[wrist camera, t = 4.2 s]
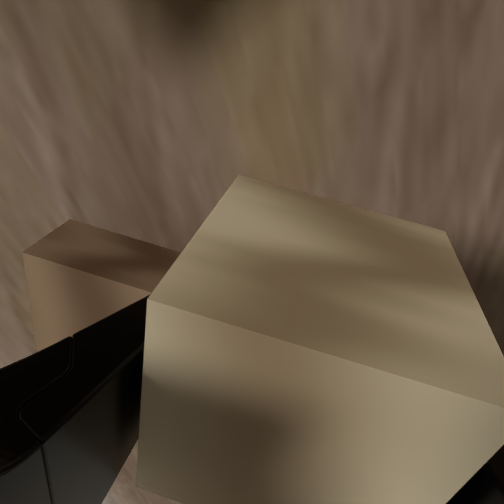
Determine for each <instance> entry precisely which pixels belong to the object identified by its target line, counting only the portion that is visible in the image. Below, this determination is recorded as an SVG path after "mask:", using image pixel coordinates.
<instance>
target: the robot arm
mask: <svg viewBox="0 0 504 504" xmlns="http://www.w3.org/2000/svg"><path fill="white" fill-rule="evenodd" d="M150 295H151V294H150ZM150 295H148V296H146V297H144V298H142V299H140V300H138V301H136V302H134V303H132V304H130V305H128V306H126V307H125V308H123V309H121V310H119V311H117V312H115V313H113V314H111V315H109V316H107V317H105V318H103V319H101V320H99V321H98V322H96V323H94V324H92V325H90V326H88V327H86V328H84V329H82V330H80V331H78V332H76V333H74V334H73V335H72V337H71V336H68V337H66V338H64V339H62V340H61V341H59V342H57V343H55V344H53V345H51V346H49V347H47V348H45V349H43V350H40V351H38V352H36V353H34V354H32V355H30V356H28V357H26V358H24V359H21V360H19V361H17V362H15V363H12V364H10V365H8V366H5V367H3V368H1V369H0V504H102V502H103V500H104V498H105V497H106V495H107V493H108V491H109V489H110V488H111V486H112V484H113V482H114V481H115V479H116V477H117V475H118V474H119V472H120V470H121V468H122V466H123V465H124V463H125V461H126V459H127V458H128V456H129V454H130V452H131V450H132V449H133V447H134V445H135V443H136V442H137V440H138V438H139V424H140V408H141V391H142V375H143V359H144V343H145V327H146V310H147V299H148V297H149V296H150ZM446 504H504V445H503V446H502V447H501V448H500V449H499V450H498V451H497V452H496V453H495V454H494V455H493V456H492V457H491V458H490V459H489V460H488V461H487V462H486V463H485V464H484V465H483V466H482V467H481V468H480V469H479V470H478V471H477V472H476V473H475V474H474V475H473V476H472V477H471V478H470V479H469V480H468V481H467V482H466V484H465V485H464V486H463V487H462V488H461V489H460V490H459V491H458V492H457V493H456V494H455V495H454V496H453V497H452V498H451V499H450V500H449V501H448V502H447V503H446Z"/></svg>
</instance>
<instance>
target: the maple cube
mask: <svg viewBox="0 0 504 504" xmlns="http://www.w3.org/2000/svg"><path fill="white" fill-rule="evenodd" d="M503 445H504V356H503V354H502V352H501V350H500V348H499V346H498V343H497V341H496V339H495V337H494V335H493V333H492V331H491V328H490V326H489V324H488V322H487V320H486V318H485V316H484V313H483V311H482V309H481V307H480V305H479V303H478V301H477V299H476V296H475V294H474V292H473V290H472V288H471V286H470V284H469V281H468V279H467V277H466V275H465V273H464V271H463V269H462V266H461V264H460V262H459V260H458V258H457V256H456V254H455V251H454V249H453V247H452V245H451V243H450V241H449V239H448V237H447V234H446V232H445V231H443V230H439V229H436V228H432V227H428V226H425V225H421V224H417V223H414V222H410V221H406V220H402V219H399V218H395V217H391V216H388V215H384V214H380V213H377V212H373V211H369V210H366V209H362V208H358V207H355V206H351V205H347V204H344V203H340V202H336V201H333V200H329V199H325V198H322V197H318V196H314V195H310V194H307V193H303V192H299V191H296V190H292V189H288V188H285V187H281V186H277V185H274V184H270V183H266V182H263V181H259V180H255V179H252V178H248V177H244V176H241V175H238V176H237V178H236V179H235V180H234V182H233V183H232V185H231V186H230V187H229V189H228V190H227V191H226V193H225V194H224V195H223V197H222V198H221V199H220V201H219V202H218V204H217V205H216V206H215V208H214V209H213V210H212V212H211V213H210V214H209V216H208V217H207V219H206V220H205V221H204V223H203V224H202V225H201V227H200V228H199V229H198V231H197V232H196V233H195V235H194V236H193V238H192V239H191V240H190V242H189V243H188V244H187V246H186V247H185V248H184V250H183V251H182V253H181V254H180V255H179V257H178V258H177V259H176V261H175V262H174V263H173V265H172V266H171V267H170V269H169V270H168V272H167V273H166V274H165V276H164V277H163V278H162V280H161V281H160V282H159V284H158V285H157V286H156V288H155V289H154V291H153V292H152V293H151V295H150V296H149V297H148V299H147V310H146V327H145V343H144V359H143V375H142V391H141V408H140V424H139V440H138V456H137V473H136V487H138V488H140V489H143V490H146V491H149V492H152V493H155V494H158V495H161V496H163V497H166V498H169V499H172V500H175V501H178V502H181V503H184V504H446V503H447V502H448V501H449V500H450V499H451V498H452V497H453V496H454V495H455V494H456V493H457V492H458V491H459V490H460V489H461V488H462V487H463V486H464V485H465V484H466V482H467V481H468V480H469V479H470V478H471V477H472V476H473V475H474V474H475V473H476V472H477V471H478V470H479V469H480V468H481V467H482V466H483V465H484V464H485V463H486V462H487V461H488V460H489V459H490V458H491V457H492V456H493V455H494V454H495V453H496V452H497V451H498V450H499V449H500V448H501V447H502V446H503Z"/></svg>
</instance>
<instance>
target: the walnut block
mask: <svg viewBox="0 0 504 504" xmlns="http://www.w3.org/2000/svg"><path fill="white" fill-rule="evenodd" d="M22 253H23V260H24V267H25V274H26V281H27V288H28V295H29V302H30V309H31V316H32V323H33V330H34V337H35V344H36V351H37V352H38V351H40V350H43V349H45V348H47V347H49V346H51V345H53V344H55V343H57V342H59V341H61V340H62V339H64V338H66V337H68V336H71V337H72V335H73V334H74V333H76V332H78V331H80V330H82V329H84V328H86V327H88V326H90V325H92V324H94V323H96V322H98V321H99V320H101V319H103V318H105V317H107V316H109V315H111V314H113V313H115V312H117V311H119V310H121V309H123V308H125V307H126V306H128V305H130V304H132V303H134V302H136V301H138V300H140V299H142V298H144V297H146V296H148V295H150V294H151V293H152V292H153V291H154V289H155V288H156V286H157V285H158V284H159V282H160V281H161V280H162V278H163V277H164V276H165V274H166V273H167V272H168V270H169V269H170V267H171V266H172V265H173V263H174V262H175V261H176V259H177V258H178V257H179V255H180V254H181V253H180V252H177V251H174V250H170V249H167V248H164V247H160V246H157V245H154V244H150V243H147V242H144V241H140V240H137V239H134V238H130V237H127V236H124V235H120V234H117V233H114V232H111V231H107V230H104V229H101V228H97V227H94V226H91V225H87V224H84V223H81V222H77V221H74V220H71V219H70V220H68V221H67V222H65V223H64V224H63V225H61V226H60V227H58V228H57V229H55V230H54V231H52V232H51V233H50V234H48V235H47V236H45V237H44V238H42V239H41V240H40V241H38V242H37V243H35V244H34V245H32V246H31V247H29V248H28V249H27V250H25V251H24V252H22Z"/></svg>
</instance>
